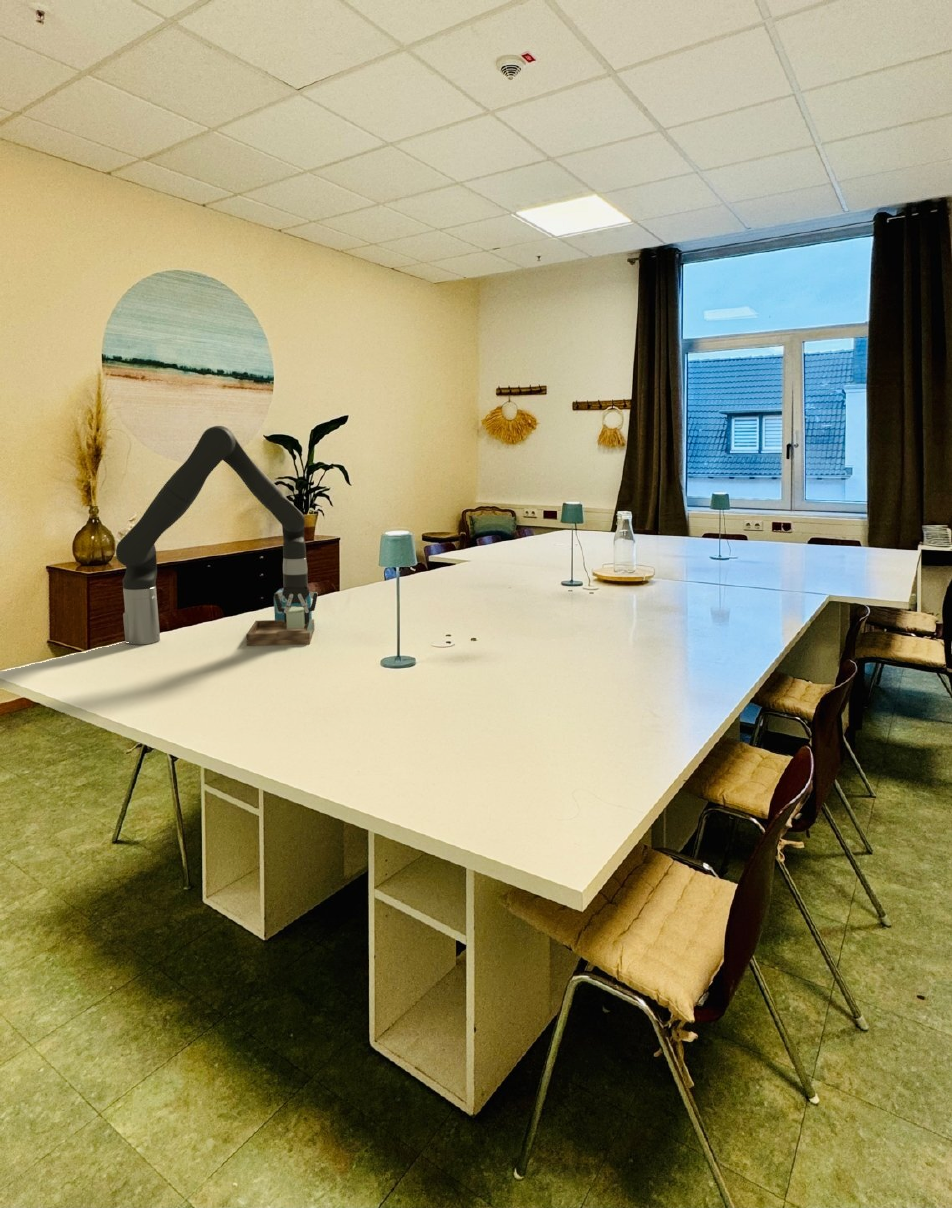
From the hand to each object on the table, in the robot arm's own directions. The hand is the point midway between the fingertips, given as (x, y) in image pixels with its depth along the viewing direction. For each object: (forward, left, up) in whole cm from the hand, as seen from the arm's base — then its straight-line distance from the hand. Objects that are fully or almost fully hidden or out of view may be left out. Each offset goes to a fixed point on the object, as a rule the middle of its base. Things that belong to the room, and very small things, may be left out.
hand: (297, 623), depth 234 cm
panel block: (0, 0, -1) cm, 1 cm away
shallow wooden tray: (-5, 0, -4) cm, 7 cm away
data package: (-3, +17, -5) cm, 18 cm away
